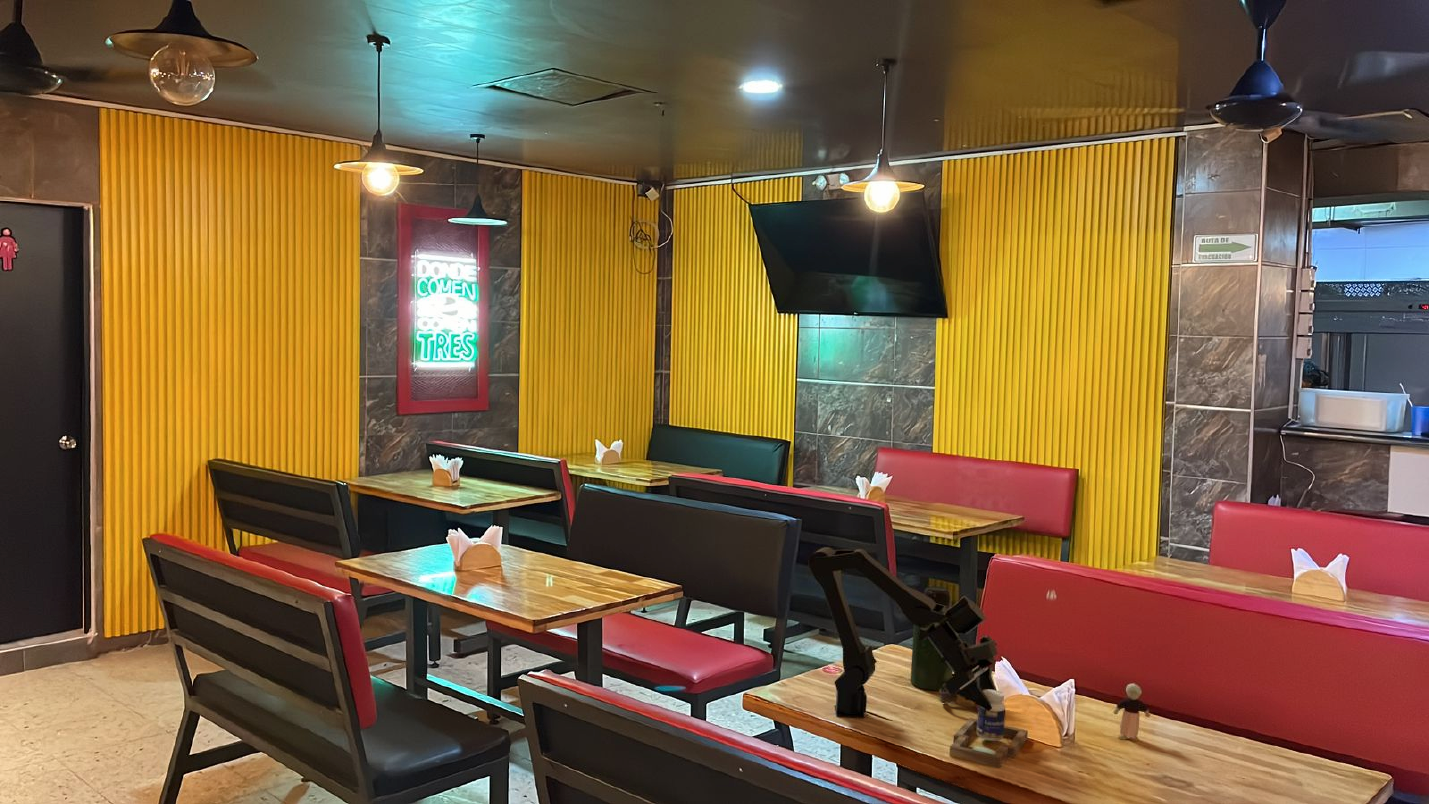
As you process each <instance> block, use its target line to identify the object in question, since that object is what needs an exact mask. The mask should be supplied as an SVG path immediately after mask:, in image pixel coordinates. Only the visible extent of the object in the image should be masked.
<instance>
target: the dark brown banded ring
mask: <svg viewBox="0 0 1429 804" xmlns="http://www.w3.org/2000/svg"><path fill="white" fill-rule="evenodd" d="M943 688H944V690H943V689H942V688H941V689H940V690H938V692H939V694H940V698H939V702H940V703H941V704H942V703H945V704H946V703H947V704H950V703H954V704H957V705H958V697H960V698H964V700H965V701H969V702H971V701H970V700H968V699H967V698H965V697H963V696H961V695H959V694H958V695H957V694H956V693H957V692H958V691H959V690H960V689H958V690H956V691H955V692H954V693H952V694H951V695H949V694H948V692H947V691H946V689H945V684H944V685H943ZM974 707H975V708H976V709H977V711H976V712H977V713H978V710H979V705H977V704H976V703H974Z"/></svg>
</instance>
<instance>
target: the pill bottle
mask: <svg viewBox="0 0 1429 804" xmlns="http://www.w3.org/2000/svg"><path fill="white" fill-rule="evenodd" d="M983 692H984V694H985V696H986V697H987V699H988V701H989V703H990V704H991V706H992V709H991V710H989V711H988V710H986V709H984V708H982V707H981V706H979V710H978V712H977V719H978V721H977V730H976V735H977V736H978V737H979V738H981V739H983V740H986V741H991V742H993V741H994V742H995V741H996V742H997V741H1001V740H1002V739H1003V738H1004V736H1003V732H1004V725H1005V717H1006V705H1005V704H1004V702H1003V701H1004V700H1005V699H1004V698H1005V694H1004V693H1003V691H1000V690H997V689H996V690H991V689H986V690H983Z"/></svg>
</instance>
